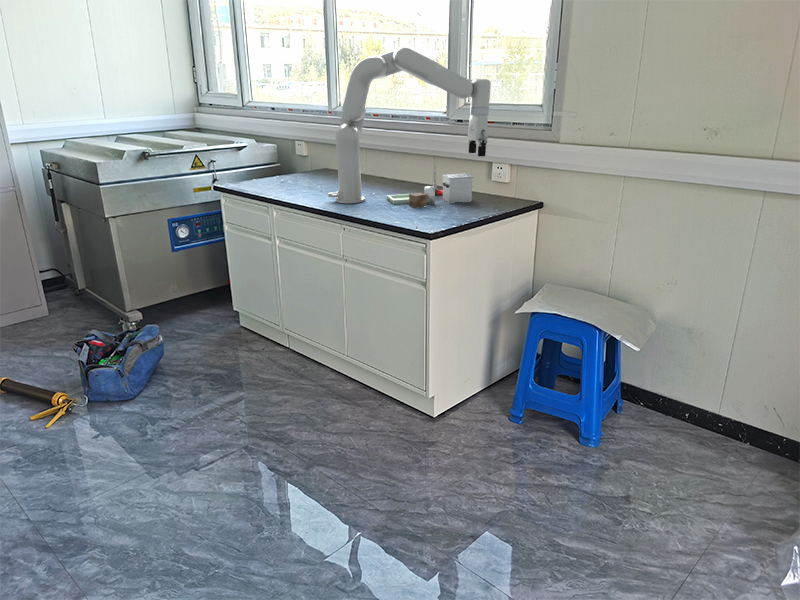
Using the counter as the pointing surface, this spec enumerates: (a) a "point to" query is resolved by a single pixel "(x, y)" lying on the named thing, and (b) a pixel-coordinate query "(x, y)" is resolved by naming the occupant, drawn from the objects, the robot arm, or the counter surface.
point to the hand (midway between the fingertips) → (476, 154)
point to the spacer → (430, 195)
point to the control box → (457, 187)
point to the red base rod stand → (437, 192)
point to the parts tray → (398, 198)
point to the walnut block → (417, 200)
